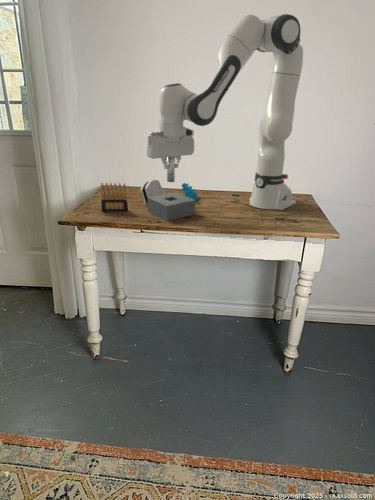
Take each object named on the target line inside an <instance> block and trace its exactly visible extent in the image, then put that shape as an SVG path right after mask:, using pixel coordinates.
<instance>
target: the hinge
mask: <svg viewBox="0 0 375 500" xmlns="http://www.w3.org/2000/svg"><path fill="white" fill-rule="evenodd" d="M140 187H141V188H140V190H139V191H140V194H141V197H142V200H143V204H144V206H148V201H147V197H153V196H158V195H163V194H167V192H165V191H164V190H163V187H162V185H161V183H160V181H159V180H158V179H153V180H152V179H151V180H148V181H146V182H145V183H143V184H142V186H140Z"/></svg>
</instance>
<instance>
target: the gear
mask: <svg viewBox="0 0 375 500" xmlns="http://www.w3.org/2000/svg"><path fill="white" fill-rule="evenodd" d="M181 191H184V192H183V193H184V195H183V196H186V197H188V198H191V199H193V200H195V202H197V200H198V199H199V197H198V193H196V188H193V187H192V185H189V183H185V182H183V183H182V184H181Z"/></svg>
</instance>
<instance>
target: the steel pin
mask: <svg viewBox="0 0 375 500" xmlns="http://www.w3.org/2000/svg"><path fill="white" fill-rule="evenodd" d="M175 160H176V158H175V157H167V160H166V162H167V164H169V169H166V182H167V183H175V178H176V168H175Z"/></svg>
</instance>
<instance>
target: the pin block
mask: <svg viewBox="0 0 375 500" xmlns="http://www.w3.org/2000/svg"><path fill="white" fill-rule="evenodd" d="M147 201H148V204H147V212H148V213H150V214H152V215H155V216H157V217H158V218H159V219H163V220H164V221H168V222H169V221H173V220H175V219H176V220H177V219H180V218H184V217H188V216H193V215H196V201H195V200H193V199H191V197H190V198H188V197H187V196H184V195H182V194H180V193H178V192H176V191H175V192H169V193H166V194H163V195H158V196H153V197H147Z"/></svg>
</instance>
